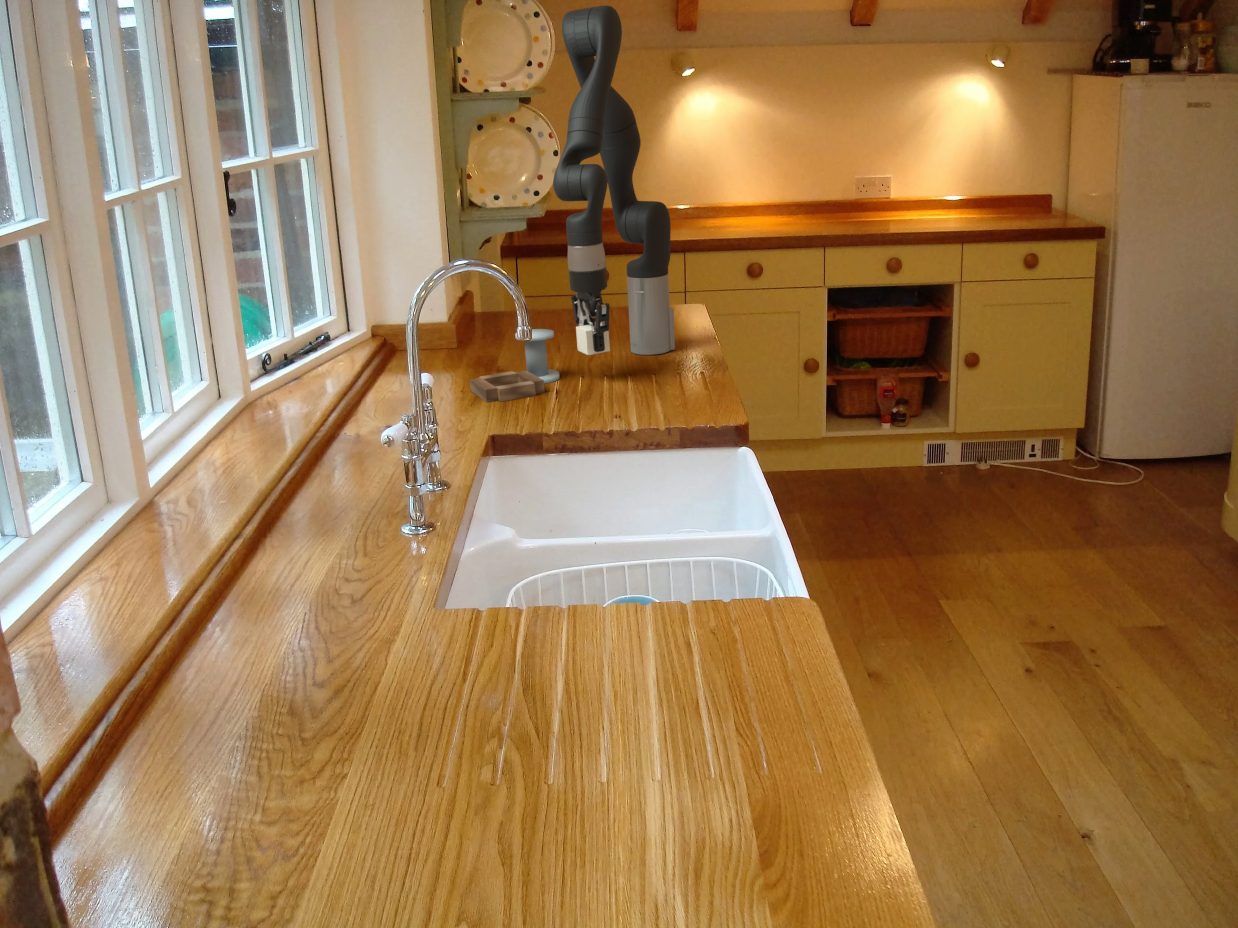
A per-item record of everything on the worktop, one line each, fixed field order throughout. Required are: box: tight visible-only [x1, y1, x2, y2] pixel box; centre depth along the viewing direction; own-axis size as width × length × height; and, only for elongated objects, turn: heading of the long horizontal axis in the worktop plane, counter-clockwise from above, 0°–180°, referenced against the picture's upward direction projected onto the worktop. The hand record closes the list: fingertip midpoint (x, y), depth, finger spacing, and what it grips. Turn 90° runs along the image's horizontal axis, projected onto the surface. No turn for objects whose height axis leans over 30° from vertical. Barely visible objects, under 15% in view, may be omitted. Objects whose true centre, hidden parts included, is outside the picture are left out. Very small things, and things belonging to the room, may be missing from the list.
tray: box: [469, 370, 545, 403], centre depth 246 cm, size 12×12×2 cm
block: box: [575, 322, 611, 356], centre depth 249 cm, size 5×5×5 cm
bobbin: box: [514, 328, 560, 385], centre depth 253 cm, size 9×9×10 cm
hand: (593, 348), depth 250 cm, fingers closed on block, 5 cm apart
